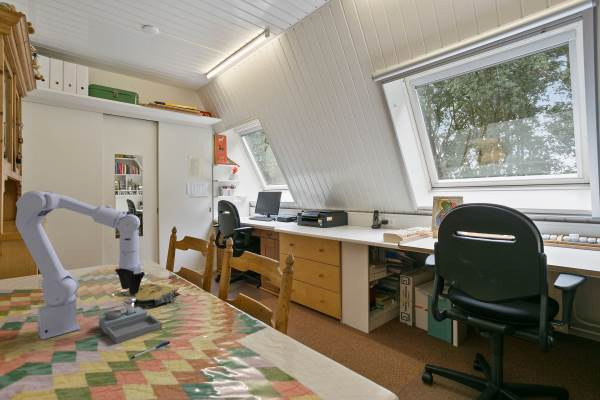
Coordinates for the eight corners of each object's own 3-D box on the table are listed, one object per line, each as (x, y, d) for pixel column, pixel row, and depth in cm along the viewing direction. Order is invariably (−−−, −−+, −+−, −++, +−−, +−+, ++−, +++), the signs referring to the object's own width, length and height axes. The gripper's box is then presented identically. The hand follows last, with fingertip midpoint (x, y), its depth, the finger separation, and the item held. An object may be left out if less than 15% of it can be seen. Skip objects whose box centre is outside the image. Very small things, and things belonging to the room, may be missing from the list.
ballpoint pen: (168, 343, 86) (168, 339, 86) (170, 344, 86) (170, 340, 86) (130, 359, 78) (130, 355, 78) (132, 360, 77) (132, 356, 77)
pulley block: (148, 273, 137) (182, 286, 118) (150, 284, 138) (184, 300, 118) (115, 284, 126) (145, 301, 107) (117, 297, 127) (148, 316, 108)
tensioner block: (105, 333, 91) (105, 318, 91) (99, 326, 96) (99, 312, 96) (146, 320, 100) (146, 307, 100) (138, 315, 105) (138, 302, 105)
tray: (115, 343, 85) (115, 337, 85) (106, 333, 91) (106, 327, 91) (161, 328, 95) (161, 322, 95) (150, 320, 101) (150, 314, 101)
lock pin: (126, 325, 97) (125, 301, 97) (122, 321, 99) (122, 298, 99) (137, 321, 100) (137, 298, 100) (133, 318, 102) (133, 296, 102)
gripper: (150, 252, 97) (151, 293, 98) (134, 246, 107) (134, 284, 107) (127, 255, 92) (127, 298, 92) (112, 249, 102) (112, 288, 102)
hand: (129, 291), depth 99 cm, fingers open, 7 cm apart
